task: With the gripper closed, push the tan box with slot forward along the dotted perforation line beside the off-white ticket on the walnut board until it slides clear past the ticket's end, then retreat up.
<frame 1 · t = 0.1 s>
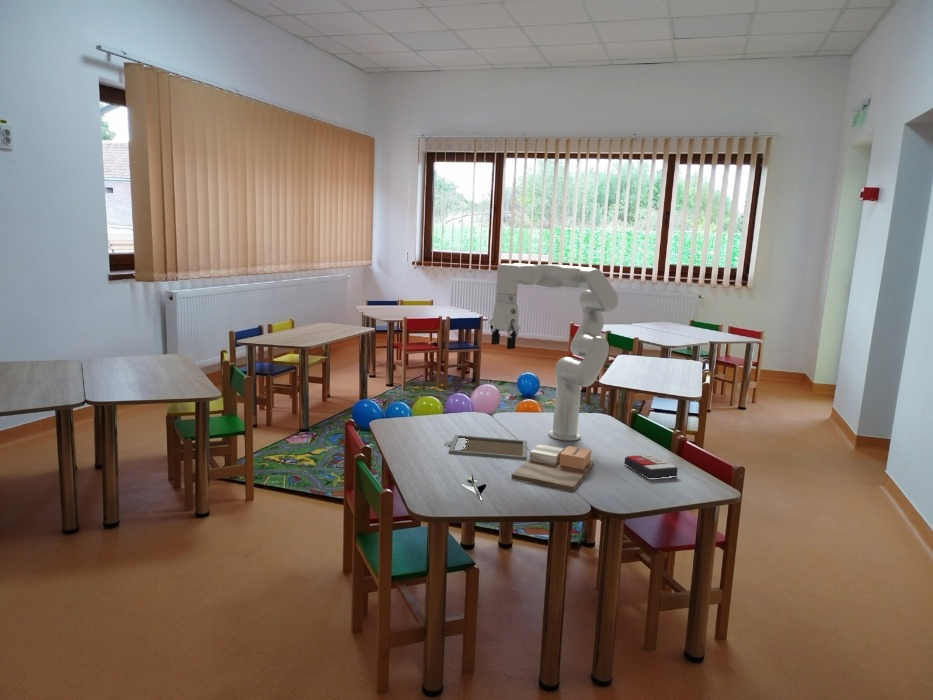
hand: (502, 346, 225), 37 cm above the table, tool pointing down, fingers open, 9 cm apart
tan box with slot: (575, 457, 212), point 4 cm above the table, slide at 0.0 cm
calculator: (649, 472, 215), on the table
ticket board: (555, 470, 209), on the table
toy airplane: (475, 489, 191), on the table
framed hanging board: (485, 449, 229), on the table
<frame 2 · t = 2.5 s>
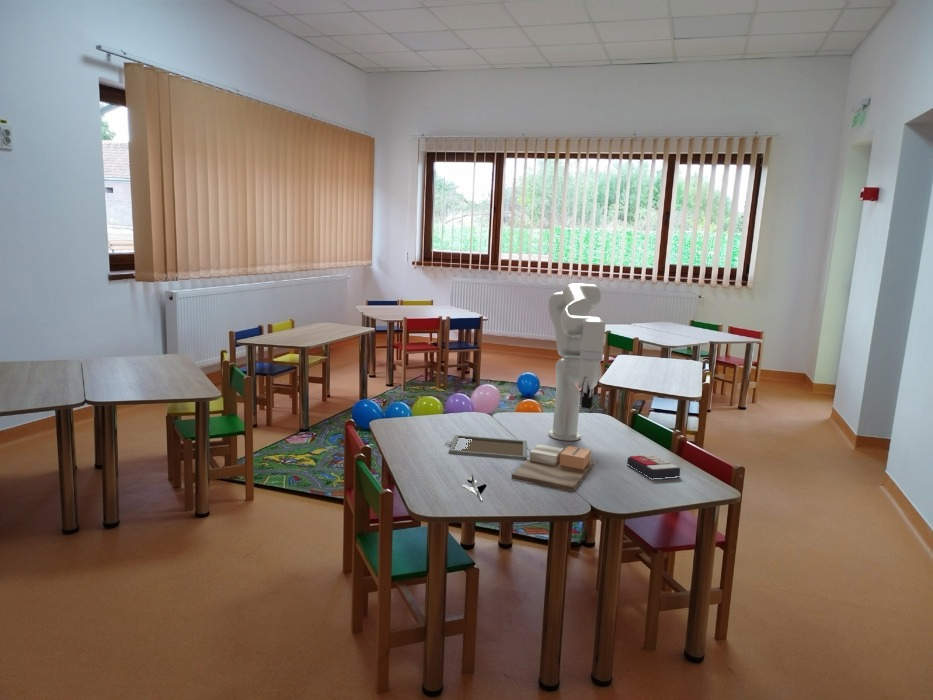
hand: (586, 407, 219), 19 cm above the table, tool pointing down, fingers closed
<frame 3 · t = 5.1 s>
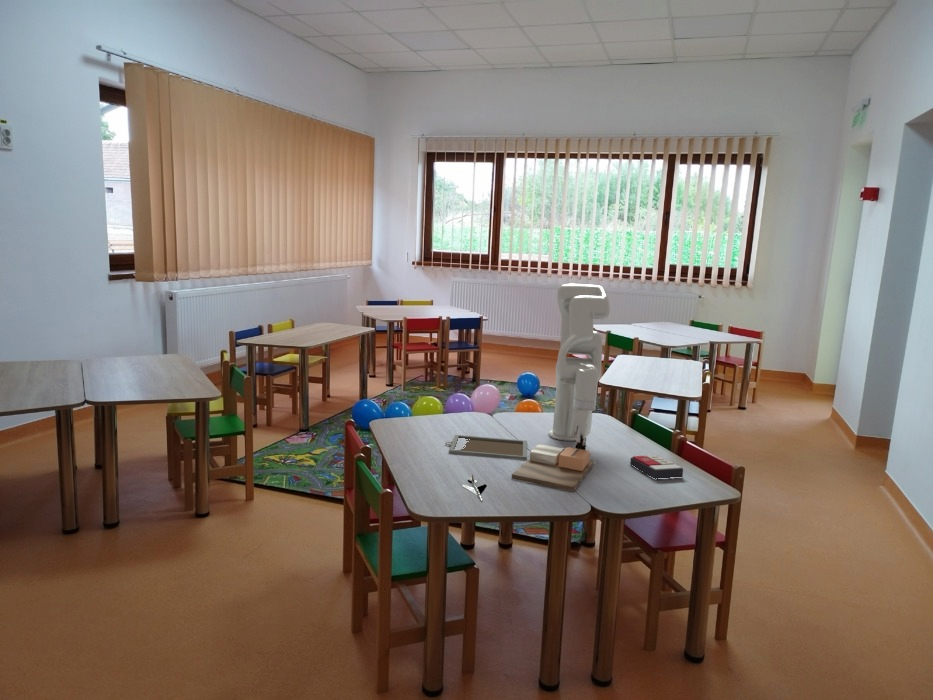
hand: (579, 455, 218), 3 cm above the table, tool pointing down, fingers closed
tan box with slot: (574, 458, 211), point 4 cm above the table, slide at 1.5 cm, touching gripper
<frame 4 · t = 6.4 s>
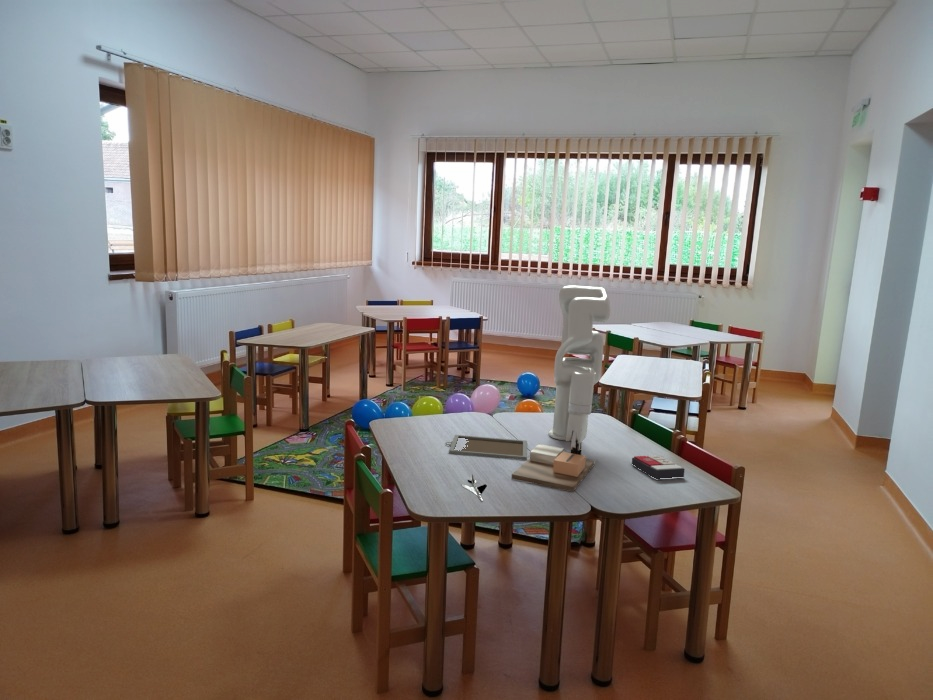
hand: (575, 460, 212), 3 cm above the table, tool pointing down, fingers closed
tan box with slot: (569, 463, 205), point 4 cm above the table, slide at 7.6 cm, touching gripper
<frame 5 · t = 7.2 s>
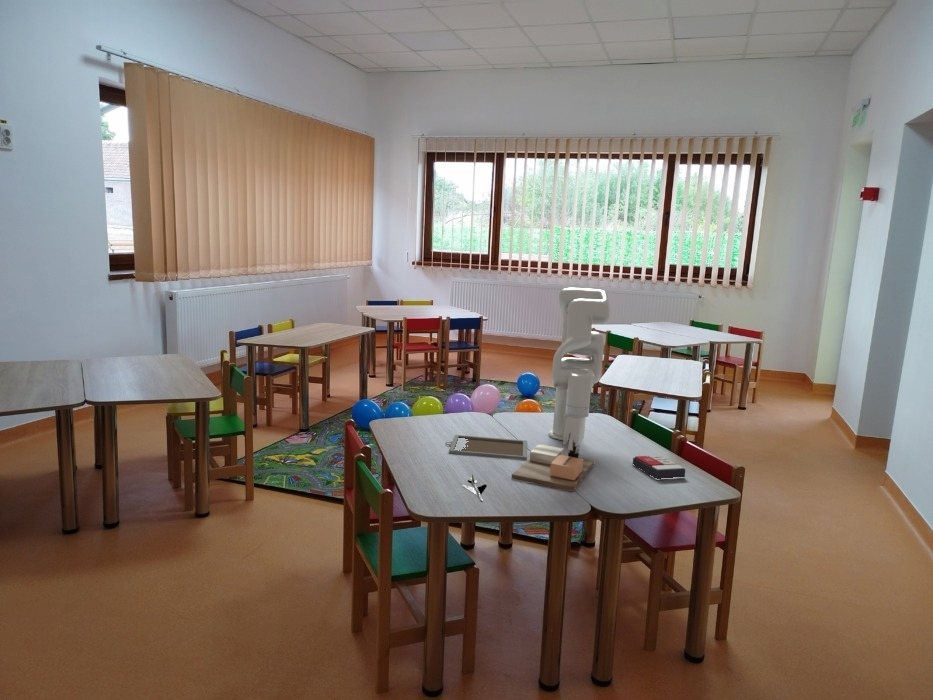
hand: (572, 463, 209), 3 cm above the table, tool pointing down, fingers closed
tan box with slot: (566, 467, 202), point 4 cm above the table, slide at 11.2 cm, touching gripper
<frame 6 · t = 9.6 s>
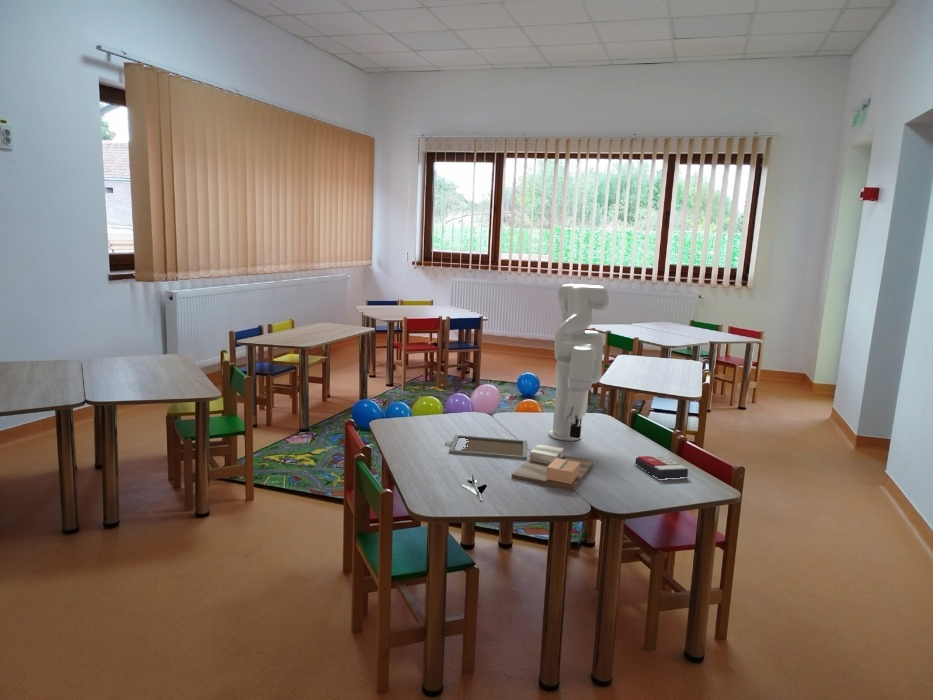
hand: (574, 436, 209), 11 cm above the table, tool pointing down, fingers closed
tan box with slot: (563, 470, 199), point 4 cm above the table, slide at 15.1 cm
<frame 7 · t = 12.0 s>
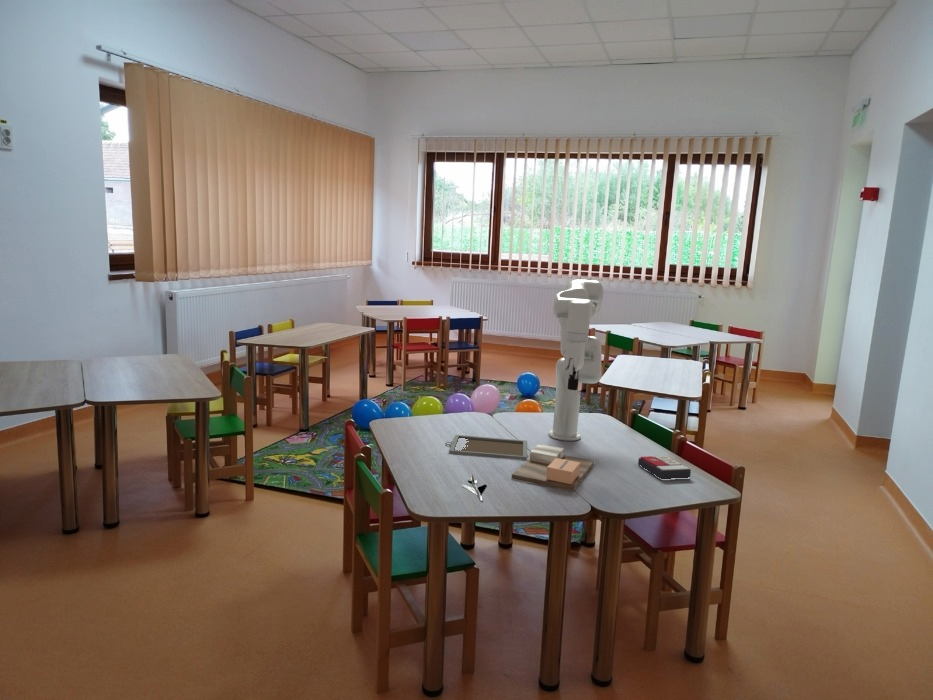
hand: (572, 389, 218), 25 cm above the table, tool pointing down, fingers closed
at the end: tan box with slot slide at 15.1 cm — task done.
